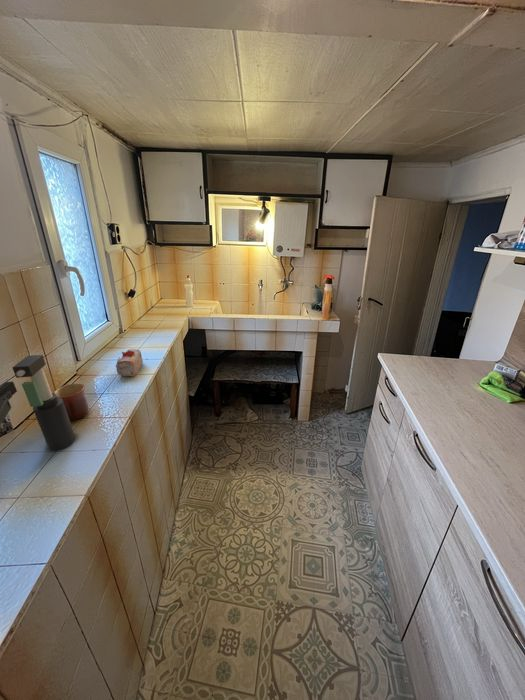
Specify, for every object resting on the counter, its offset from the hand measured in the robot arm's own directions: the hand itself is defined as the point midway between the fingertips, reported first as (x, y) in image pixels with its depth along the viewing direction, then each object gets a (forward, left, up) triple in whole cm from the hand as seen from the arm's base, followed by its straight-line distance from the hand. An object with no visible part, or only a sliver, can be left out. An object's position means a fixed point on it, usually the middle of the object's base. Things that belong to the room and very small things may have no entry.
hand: (11, 386), depth 66 cm
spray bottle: (-3, +8, -26) cm, 27 cm away
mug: (-11, +23, -26) cm, 36 cm away
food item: (-10, +55, -26) cm, 62 cm away
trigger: (-2, +5, -9) cm, 11 cm away
